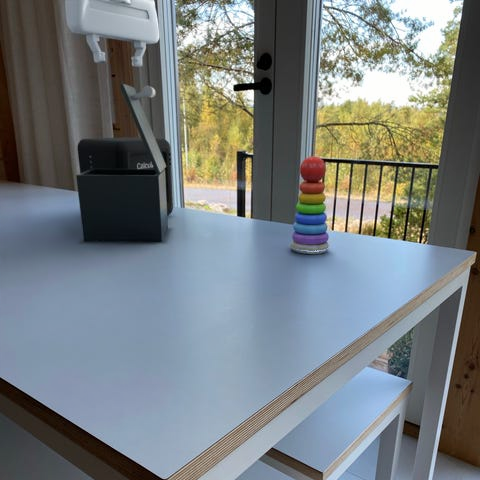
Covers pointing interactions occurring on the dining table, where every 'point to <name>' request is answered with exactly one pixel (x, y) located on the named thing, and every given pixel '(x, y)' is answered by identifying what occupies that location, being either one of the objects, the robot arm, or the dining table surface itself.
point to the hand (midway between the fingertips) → (119, 64)
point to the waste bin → (122, 205)
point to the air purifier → (124, 157)
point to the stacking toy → (311, 209)
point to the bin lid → (144, 123)
